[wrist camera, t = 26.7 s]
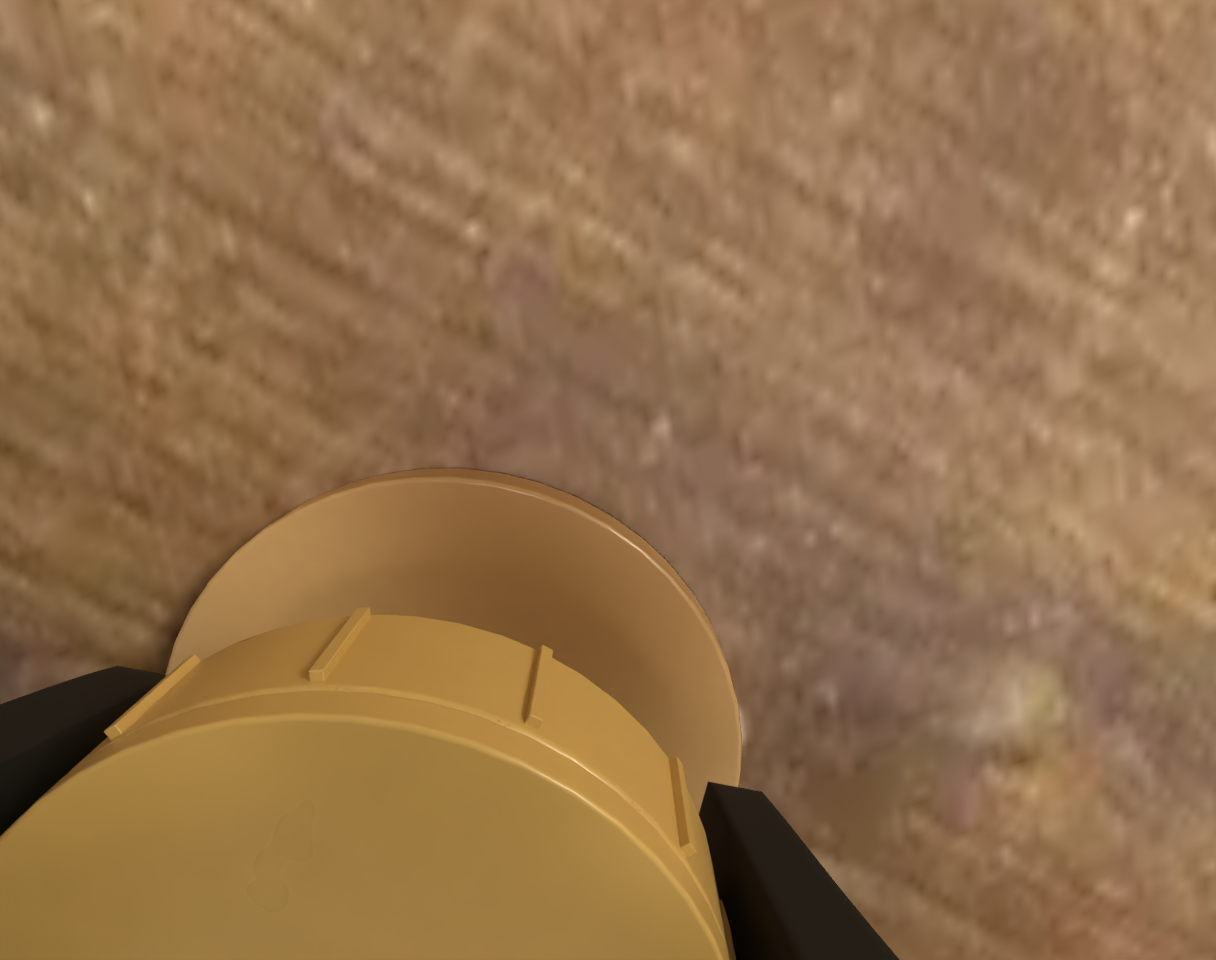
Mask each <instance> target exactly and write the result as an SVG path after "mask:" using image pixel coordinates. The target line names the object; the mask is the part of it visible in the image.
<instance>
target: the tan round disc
mask: <svg viewBox="0 0 1216 960" xmlns="http://www.w3.org/2000/svg"><path fill="white" fill-rule="evenodd" d="M360 607H370V611H371V615H398V616H416V617H423V618H429V619H436V620H442V621H448V622H455V623H460V624H463V625H467V626H471V627H474V628H478V629H481V630H485V631H488V632H492V633H495V634H499V635H502V636H505V637H507V638H509V639H512V640H514V641H517V642H520V643H521V644H524V645H527V646H529V647H531V648H533V649H536V650H538V651H539V649H540V648H541V646H542V645H544V646H546V647H548V648H550V649H552V650H553V655H552V658H554V659H555V660H557V661H559V662H561V663H562V664H564V665H566V666H568V667H569V668H571V669H573V670H575V671H576V672H578V673H580V674H582V675H583V676H584V677H586V678H587V679H588V680H589V681H591V682H592V683H593V684H595V685H596V686H597V687H599V688H600V689H601V690H603V691H604V692H605V693H607V694H608V695H609V696H611V697H612V698H613V699H615V700H616V701H617V702H618V703H619V704H620V705H621V706H622V707H623V708H624V709H625V710H626V711H628V712H629V713H630V714H631V715H632V716H633V717H634V718H635V719H636V720H637V721H638V722H639V723H640V724H641V725H642V726H643V727H644V728H645V729H646V730H647V731H648V733H649V734H650V735H651V736H652V738H653V739H654V740H655V741H656V743H657V744H658V745H659V747H660V748H661V749H662V750H663V752H664V753H665V754H666V756H667V757H668V758H669V759H672V758H674V757H676V756H677V757H678V758H679V760H680V761H681V763H682V764H683V770H684V776H685V782H686V788H687V790H688V792H689V793H690V795H691V797H692V799H693V802H694V805H695V807H696V810H697V812H698V815H699V811H700V808H701V804H702V801H703V797H704V794H705V790H706V787H707V783H708V782H713V783H719V784H724V785H729V786H734V787H738V784H739V778H740V773H741V747H742V735H741V726H740V717H739V709H738V702H737V698H736V694H735V691H734V687H733V683H732V679H731V676H730V672H729V668H728V665H727V662H726V659H725V656H724V653H723V651H722V649H721V646H720V644H719V641H718V639H717V637H716V634H715V632H714V630H713V627H712V625H711V623H710V621H709V619H708V618H707V616H706V614H705V613H704V611H703V610H702V608H701V606H700V605H699V603H698V601H697V600H696V598H695V596H694V595H693V593H692V592H691V590H690V589H689V588H688V587H687V585H686V584H685V583H684V582H683V580H682V579H681V578H680V577H679V575H678V574H677V573H676V572H675V571H674V569H673V568H672V567H671V566H670V564H669V563H668V562H667V561H666V560H665V559H663V558H662V557H661V556H660V555H659V554H658V553H657V552H656V551H655V550H654V549H653V548H652V547H651V546H650V545H649V544H648V543H647V542H645V541H644V540H643V539H642V538H641V537H640V536H638V535H637V534H636V533H634V532H633V531H631V530H630V529H629V528H627V527H626V526H624V525H623V524H622V523H620V522H619V521H618V520H616V519H615V518H613V517H612V516H611V515H609V514H607V513H605V512H603V511H601V510H600V509H598V508H596V507H594V506H592V505H590V504H588V503H587V502H585V501H583V500H581V499H579V498H577V497H575V496H573V495H570V494H567V493H565V492H562V491H560V490H557V489H555V488H552V487H549V486H547V485H544V484H542V483H539V482H535V481H531V480H527V479H523V478H519V477H515V476H511V475H507V474H503V473H496V472H488V471H479V470H471V469H462V468H450V469H416V470H409V471H402V472H395V473H388V474H382V475H378V476H374V477H371V478H367V479H364V480H360V481H356V482H353V483H349V484H346V485H343V486H341V487H338V488H336V489H334V490H331V491H329V492H327V493H324V494H322V495H320V496H317V497H315V498H313V499H310V500H309V501H307V502H305V503H304V504H302V505H300V506H299V507H297V508H295V509H294V510H292V511H290V512H289V513H287V514H285V515H284V516H282V517H280V518H279V519H277V520H276V521H274V522H273V523H271V524H270V525H268V526H267V527H266V528H264V529H263V530H262V531H260V532H259V533H258V534H257V535H256V536H254V537H253V538H252V539H251V540H249V541H248V542H247V543H246V544H245V545H243V546H242V547H241V548H240V549H238V550H237V551H236V552H235V553H234V554H233V555H232V556H231V557H230V558H229V559H228V561H227V562H226V563H225V564H224V565H223V566H222V567H221V568H220V569H219V570H218V572H217V573H216V574H215V575H214V576H213V577H212V578H211V579H210V581H209V582H208V584H207V585H206V586H205V588H204V589H203V591H202V592H201V594H200V595H199V597H198V598H197V600H196V601H195V603H194V604H193V606H192V607H191V609H190V611H189V613H188V615H187V617H186V619H185V621H184V624H183V626H182V628H181V630H180V632H179V634H178V636H177V638H176V641H175V643H174V647H173V650H172V654H171V657H170V660H169V664H168V667H167V671H166V674H165V675H168V674H169V673H170V672H171V671H173V670H174V669H175V668H176V667H177V666H178V665H179V664H181V663H182V662H183V661H184V660H185V659H187V658H188V657H190V656H192V655H193V654H195V655H196V656H197V657H198V658H199V659H200V661H201V660H203V659H205V658H207V657H209V656H211V655H213V654H215V653H217V652H218V651H220V650H222V649H224V648H226V647H228V646H230V645H232V644H234V643H236V642H239V641H242V640H244V639H247V638H250V637H253V636H256V635H259V634H261V633H264V632H267V631H270V630H273V629H275V628H279V627H284V626H288V625H293V624H298V623H302V622H307V621H311V620H316V619H321V618H332V617H344V616H352V614H353V613H354V612H355V610H356V609H357V608H360Z"/></svg>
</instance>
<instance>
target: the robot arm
mask: <svg viewBox="0 0 1216 960" xmlns="http://www.w3.org/2000/svg"><path fill="white" fill-rule="evenodd" d="M166 676H167V675H162V674H156V673H151V672H146V671H141V670H136V669H131V668H126V667H121V666H116V667H112V668H108V669H104V670H101V671H97V672H94V673H90V674H87V675H84V676H81V677H78V678H75V679H72V680H69V681H66V682H63V683H60V684H57V685H54V686H51V687H48V688H45V689H43V690H40V691H37V692H34V693H31V694H28V695H26V696H23V697H20V698H17V699H14V700H11V701H9V702H6V703H3V704H0V836H1V835H2V834H3V833H4V832H5V831H6V830H7V829H8V828H9V827H10V826H11V825H12V824H13V823H14V822H15V821H16V820H17V819H18V818H19V817H20V816H21V815H23V814H24V813H25V812H26V811H27V810H28V809H29V808H30V807H31V806H32V805H33V804H34V803H35V802H36V801H37V800H38V799H39V798H40V797H42V796H43V795H44V794H45V793H46V792H47V791H48V790H49V789H50V788H52V787H53V786H54V785H55V784H56V783H57V782H58V781H59V780H60V779H62V778H63V777H64V776H65V775H67V774H68V773H69V772H70V771H71V770H72V769H73V768H74V767H75V766H76V765H77V764H78V763H79V762H80V761H82V760H83V759H84V758H85V757H86V756H87V755H88V754H89V753H90V752H92V751H93V750H94V749H95V748H96V747H97V746H98V745H99V744H100V743H102V742H103V741H104V740H105V739H106V738H107V737H108V736H107V735H106V734H105V733H104V731H105V730H106V729H107V728H108V727H109V726H110V725H111V724H112V723H114V722H115V721H116V720H117V719H118V718H119V717H120V716H122V715H123V714H124V713H125V712H126V711H127V710H128V709H129V708H131V707H132V706H133V705H134V704H135V703H136V702H137V701H139V700H140V699H141V698H142V697H143V696H144V695H145V694H147V693H148V692H149V691H150V690H151V689H152V688H153V687H154V686H156V685H157V684H158V683H159V682H160V681H161V680H162V679H164V678H165V677H166ZM699 817H700V820H701V822H702V825H703V827H704V830H705V833H706V838H707V842H708V846H709V851H710V855H711V860H712V864H713V869H714V874H715V879H716V885H717V890H718V896H719V900H722V902H723V905H724V908H725V912H726V915H727V918H728V922H729V925H730V930H731V935H732V940H733V945H734V950H735V955H736V960H899V959H898V957H897V956H896V955H895V954H894V953H893V952H892V950H891V949H890V948H889V947H888V946H887V945H886V943H885V942H884V941H883V940H882V939H881V937H880V936H879V935H878V934H877V933H876V932H875V930H874V929H873V928H872V927H871V926H870V924H869V923H868V922H867V921H866V919H865V918H864V917H863V916H862V915H861V913H860V912H859V911H858V910H857V909H856V907H855V906H854V905H853V904H852V903H851V901H850V900H849V899H848V898H847V896H846V895H845V894H844V893H843V891H842V890H841V889H840V888H839V886H838V885H837V884H836V883H835V882H834V880H833V879H832V878H831V877H830V875H829V874H828V873H827V872H826V870H825V869H824V868H823V866H822V865H821V864H820V863H819V861H818V860H817V859H816V858H815V856H814V855H813V854H812V853H811V851H810V850H809V849H808V848H807V846H806V845H805V844H804V843H803V841H802V840H801V839H800V838H799V836H798V835H797V834H796V833H795V831H794V830H793V829H792V828H791V826H790V825H789V824H788V822H787V821H786V820H785V819H784V818H783V816H782V815H781V814H780V813H779V811H778V810H777V809H776V808H775V807H774V805H773V804H772V803H771V802H770V801H769V800H768V798H767V797H766V796H765V795H764V794H763V793H762V792H759V791H754V790H749V789H744V788H739V787H734V786H729V785H724V784H719V783H713V782H708V783H707V787H706V790H705V794H704V797H703V801H702V804H701V808H700V811H699Z"/></svg>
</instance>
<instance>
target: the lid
mask: <svg viewBox="0 0 1216 960" xmlns="http://www.w3.org/2000/svg"><path fill="white" fill-rule="evenodd" d="M552 655H553V650H552V649H550V648H548V647H546V646H544V645H542V646H541V648H540V649H539V651H538V650H536V649H533V648H531V647H529V646H527V645H524V644H521V643H520V642H517V641H514V640H512V639H509V638H507V637H505V636H502V635H499V634H495V633H492V632H488V631H485V630H481V629H478V628H474V627H471V626H467V625H463V624H460V623H455V622H448V621H442V620H436V619H429V618H423V617H416V616H398V615H371V611H370V607H360V608H357V609H356V610H355V612H354V613H353V614H352V616H344V617H332V618H321V619H316V620H311V621H307V622H302V623H298V624H293V625H288V626H284V627H279V628H275V629H273V630H270V631H267V632H264V633H261V634H259V635H256V636H253V637H250V638H247V639H244V640H242V641H239V642H236V643H234V644H232V645H230V646H228V647H226V648H224V649H222V650H220V651H218V652H217V653H215V654H213V655H211V656H209V657H207V658H205V659H203V660H201V661H200V659H199V658H198V657H197V656H196V655H195V654H193V655H192V656H190V657H188V658H187V659H185V660H184V661H183V662H182V663H181V664H179V665H178V666H177V667H176V668H175V669H174V670H173V671H171V672H170V673H169V674H168V675H167V676H166V677H165V678H164V679H162V680H161V681H160V682H159V683H158V684H157V685H156V686H154V687H153V688H152V689H151V690H150V691H149V692H148V693H147V694H145V695H144V696H143V697H142V698H141V699H140V700H139V701H137V702H136V703H135V704H134V705H133V706H132V707H131V708H129V709H128V710H127V711H126V712H125V713H124V714H123V715H122V716H120V717H119V718H118V719H117V720H116V721H115V722H114V723H112V724H111V725H110V726H109V727H108V728H107V729H106V730H105V731H104V733H105V734H106V735H107V736H108V737H107V738H106V739H105V740H104V741H103V742H102V743H100V744H99V745H98V746H97V747H96V748H95V749H94V750H93V751H92V752H90V753H89V754H88V755H87V756H86V757H85V758H84V759H83V760H82V761H80V762H79V763H78V764H77V765H76V766H75V767H74V768H73V769H72V770H71V771H70V772H69V773H68V774H67V775H65V776H64V777H63V778H62V779H60V780H59V781H58V782H57V783H56V784H55V785H54V786H53V787H52V788H50V789H49V790H48V791H47V792H46V793H45V794H44V795H43V796H42V797H40V798H39V799H38V800H37V801H36V802H35V803H34V804H33V805H32V806H31V807H30V808H29V809H28V810H27V811H26V812H25V813H24V814H23V815H21V816H20V817H19V818H18V819H17V820H16V821H15V822H14V823H13V824H12V825H11V826H10V827H9V828H8V829H7V830H6V831H5V832H4V833H3V834H2V835H1V836H0V960H736V955H735V950H734V945H733V940H732V935H731V930H730V925H729V922H728V918H727V915H726V912H725V908H724V905H723V902H722V900H719V896H718V890H717V885H716V879H715V874H714V869H713V864H712V860H711V855H710V851H709V846H708V842H707V838H706V833H705V830H704V827H703V825H702V822H701V820H700V817H699V815H698V812H697V810H696V807H695V805H694V802H693V799H692V797H691V795H690V793H689V792H688V790H687V788H686V782H685V776H684V770H683V764H682V763H681V761H680V760H679V758H678V757H677V756H676V757H674V758H672V759H669V758H668V757H667V756H666V754H665V753H664V752H663V750H662V749H661V748H660V747H659V745H658V744H657V743H656V741H655V740H654V739H653V738H652V736H651V735H650V734H649V733H648V731H647V730H646V729H645V728H644V727H643V726H642V725H641V724H640V723H639V722H638V721H637V720H636V719H635V718H634V717H633V716H632V715H631V714H630V713H629V712H628V711H626V710H625V709H624V708H623V707H622V706H621V705H620V704H619V703H618V702H617V701H616V700H615V699H613V698H612V697H611V696H609V695H608V694H607V693H605V692H604V691H603V690H601V689H600V688H599V687H597V686H596V685H595V684H593V683H592V682H591V681H589V680H588V679H587V678H586V677H584V676H583V675H582V674H580V673H578V672H576V671H575V670H573V669H571V668H569V667H568V666H566V665H564V664H562V663H561V662H559V661H557V660H555V659H554V658H552Z"/></svg>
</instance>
